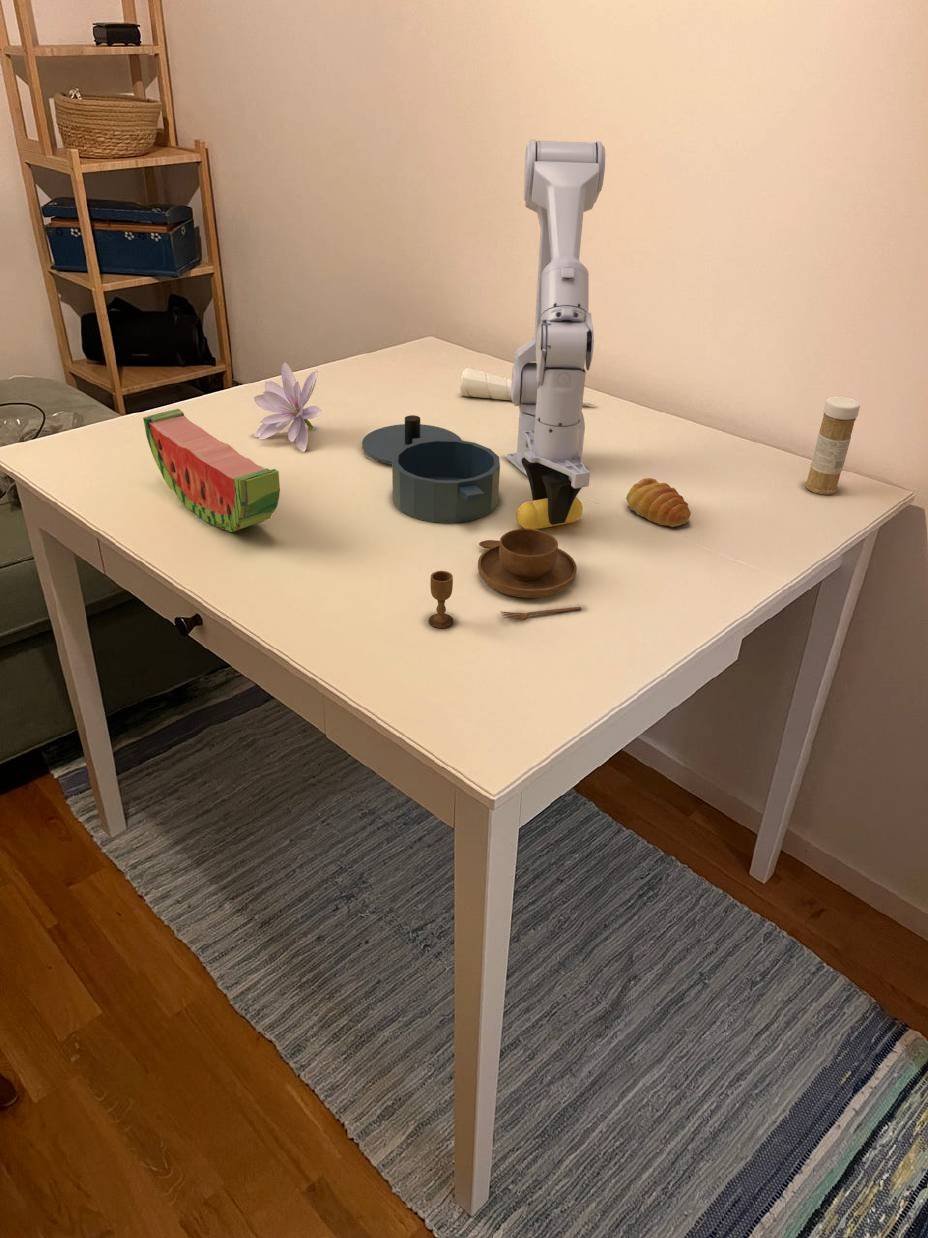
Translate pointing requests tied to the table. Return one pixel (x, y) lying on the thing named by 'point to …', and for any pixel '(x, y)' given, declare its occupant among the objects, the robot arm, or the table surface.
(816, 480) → the sprinkles bottle
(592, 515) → the table surface
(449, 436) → the pot lid
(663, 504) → the pastry
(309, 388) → the water lily
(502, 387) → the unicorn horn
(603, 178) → the robot arm
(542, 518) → the yellow rounded capsule
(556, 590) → the place setting
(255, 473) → the fruit slice
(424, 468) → the pot
